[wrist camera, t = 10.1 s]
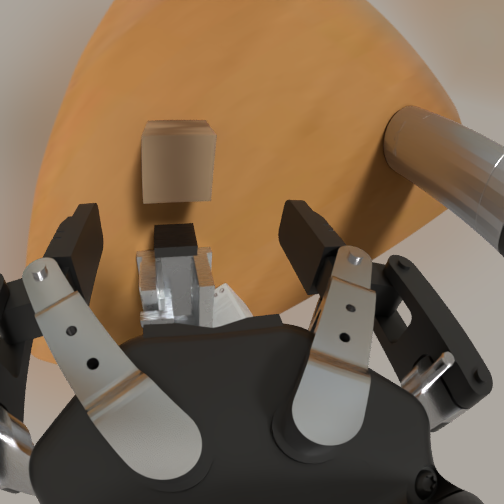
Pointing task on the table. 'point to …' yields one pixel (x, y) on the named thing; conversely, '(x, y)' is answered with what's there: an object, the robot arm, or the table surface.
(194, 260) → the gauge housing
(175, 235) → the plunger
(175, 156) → the walnut block
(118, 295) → the table surface
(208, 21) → the table surface
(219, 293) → the skincare box
